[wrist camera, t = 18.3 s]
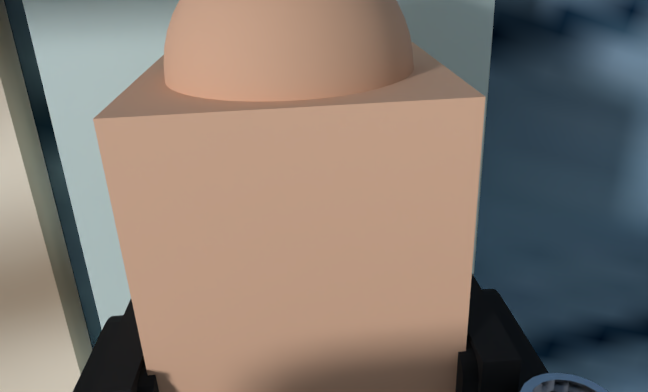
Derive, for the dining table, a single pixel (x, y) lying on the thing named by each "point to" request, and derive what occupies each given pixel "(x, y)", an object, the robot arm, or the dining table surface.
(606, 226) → the dining table surface
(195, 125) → the dome-capped square column
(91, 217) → the tailgate
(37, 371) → the crate
